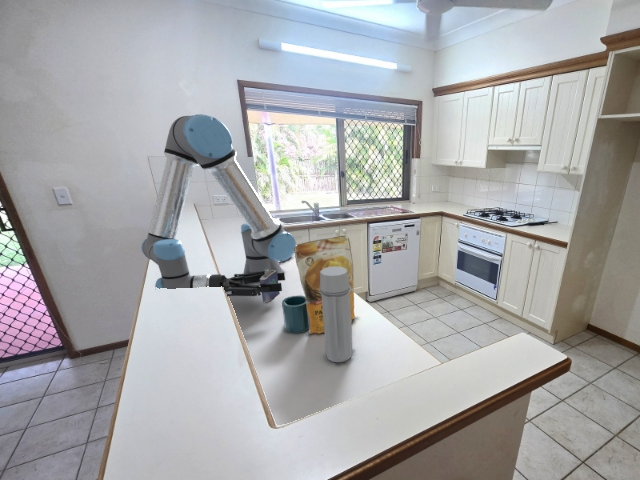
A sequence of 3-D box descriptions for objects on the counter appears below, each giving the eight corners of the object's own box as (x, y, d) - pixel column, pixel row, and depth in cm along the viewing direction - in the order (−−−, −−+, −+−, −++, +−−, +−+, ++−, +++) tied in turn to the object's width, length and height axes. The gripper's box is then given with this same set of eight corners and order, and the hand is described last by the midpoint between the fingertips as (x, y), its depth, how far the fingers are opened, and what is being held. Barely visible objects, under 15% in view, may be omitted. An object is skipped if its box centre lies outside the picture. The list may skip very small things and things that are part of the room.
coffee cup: (286, 321, 106) (283, 296, 103) (311, 319, 108) (309, 294, 104) (284, 334, 99) (280, 307, 96) (310, 331, 101) (308, 305, 97)
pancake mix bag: (298, 329, 102) (288, 242, 91) (351, 312, 113) (348, 232, 102) (308, 339, 97) (298, 248, 86) (362, 320, 108) (360, 237, 97)
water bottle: (326, 348, 93) (320, 265, 83) (354, 347, 93) (351, 265, 84) (322, 369, 84) (314, 279, 74) (353, 368, 85) (349, 279, 75)
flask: (268, 304, 110) (263, 274, 106) (260, 303, 111) (255, 274, 107) (281, 292, 119) (277, 265, 115) (273, 292, 119) (269, 264, 115)
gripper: (223, 283, 120) (287, 279, 124) (203, 311, 101) (280, 305, 105) (218, 264, 117) (285, 260, 121) (198, 288, 98) (277, 283, 102)
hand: (283, 281), depth 113 cm, fingers closed on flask, 9 cm apart
